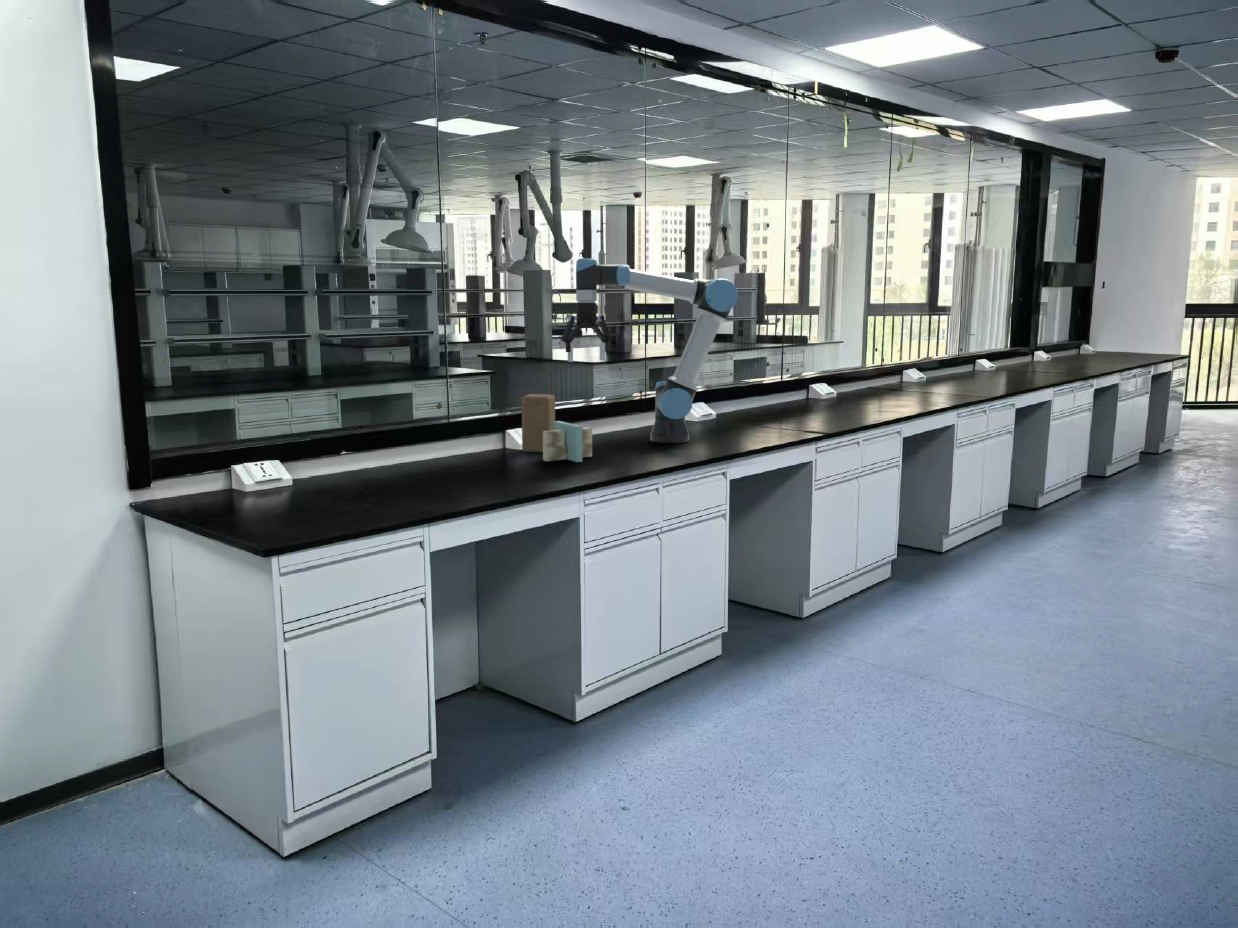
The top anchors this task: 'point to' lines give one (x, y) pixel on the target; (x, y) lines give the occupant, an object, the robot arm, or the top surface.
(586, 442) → the beige patterned panel
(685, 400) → the robot arm
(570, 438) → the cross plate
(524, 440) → the wooden block
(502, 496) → the top surface
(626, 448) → the top surface
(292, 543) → the top surface
